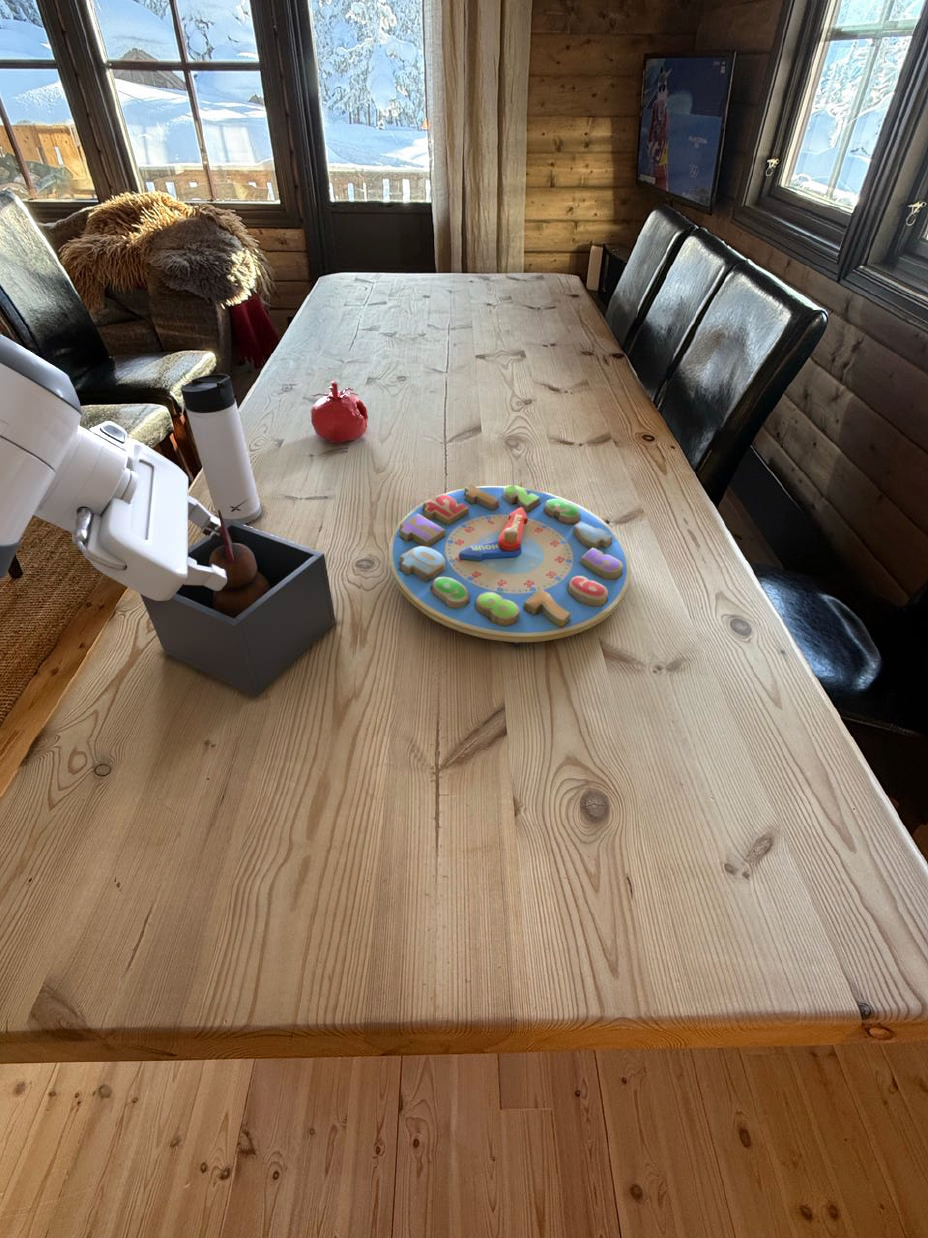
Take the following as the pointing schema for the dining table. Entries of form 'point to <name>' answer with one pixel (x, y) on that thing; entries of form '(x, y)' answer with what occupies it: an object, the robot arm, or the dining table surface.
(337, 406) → the pomegranate
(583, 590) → the shape sorting clock
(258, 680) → the tote
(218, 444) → the travel mug
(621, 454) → the dining table surface
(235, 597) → the wooden figurine
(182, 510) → the robot arm
